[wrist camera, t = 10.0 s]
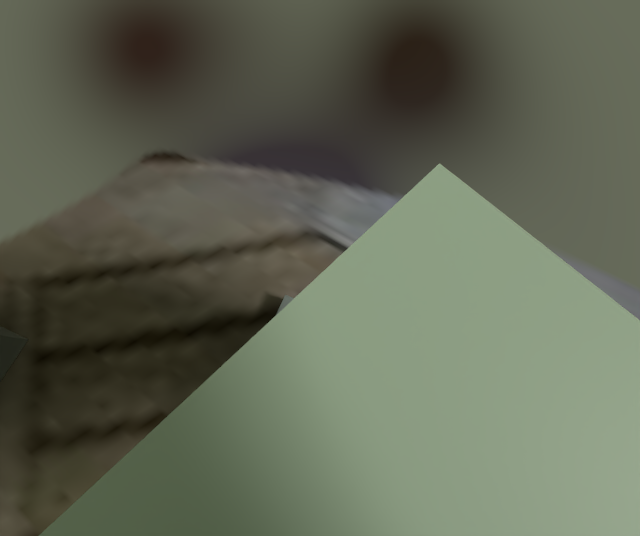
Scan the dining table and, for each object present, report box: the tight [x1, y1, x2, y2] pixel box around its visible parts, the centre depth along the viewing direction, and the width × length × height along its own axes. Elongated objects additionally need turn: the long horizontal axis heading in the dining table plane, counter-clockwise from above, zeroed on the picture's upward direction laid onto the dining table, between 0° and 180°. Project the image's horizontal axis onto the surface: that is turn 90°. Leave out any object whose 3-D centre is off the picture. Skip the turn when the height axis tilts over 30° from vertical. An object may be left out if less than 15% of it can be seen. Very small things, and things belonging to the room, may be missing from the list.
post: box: [39, 164, 640, 536], centre depth 9 cm, size 5×5×13 cm
